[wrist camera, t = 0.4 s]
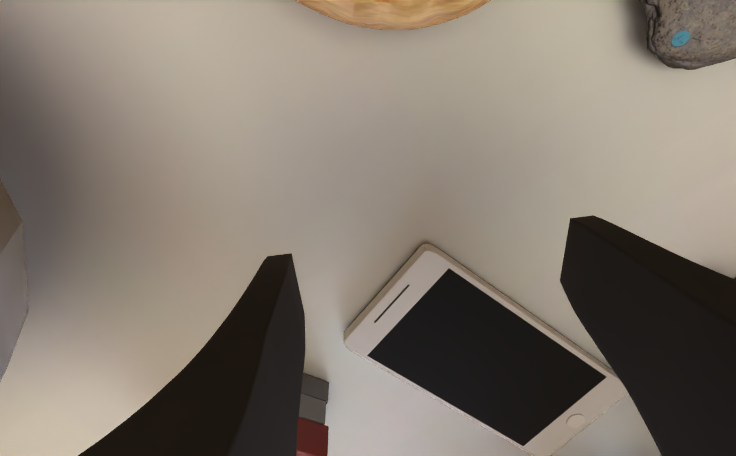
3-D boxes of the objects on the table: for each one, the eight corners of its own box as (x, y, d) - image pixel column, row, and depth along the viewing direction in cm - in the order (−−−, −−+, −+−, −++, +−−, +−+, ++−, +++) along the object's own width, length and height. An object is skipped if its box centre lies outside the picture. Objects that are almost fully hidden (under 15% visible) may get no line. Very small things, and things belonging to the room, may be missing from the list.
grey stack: (269, 483, 30) (261, 529, 28) (190, 460, 29) (174, 506, 27) (329, 382, 27) (327, 423, 24) (242, 351, 26) (230, 391, 23)
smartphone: (538, 450, 30) (543, 463, 29) (340, 335, 26) (340, 346, 25) (625, 379, 28) (634, 390, 27) (425, 239, 23) (428, 248, 23)
